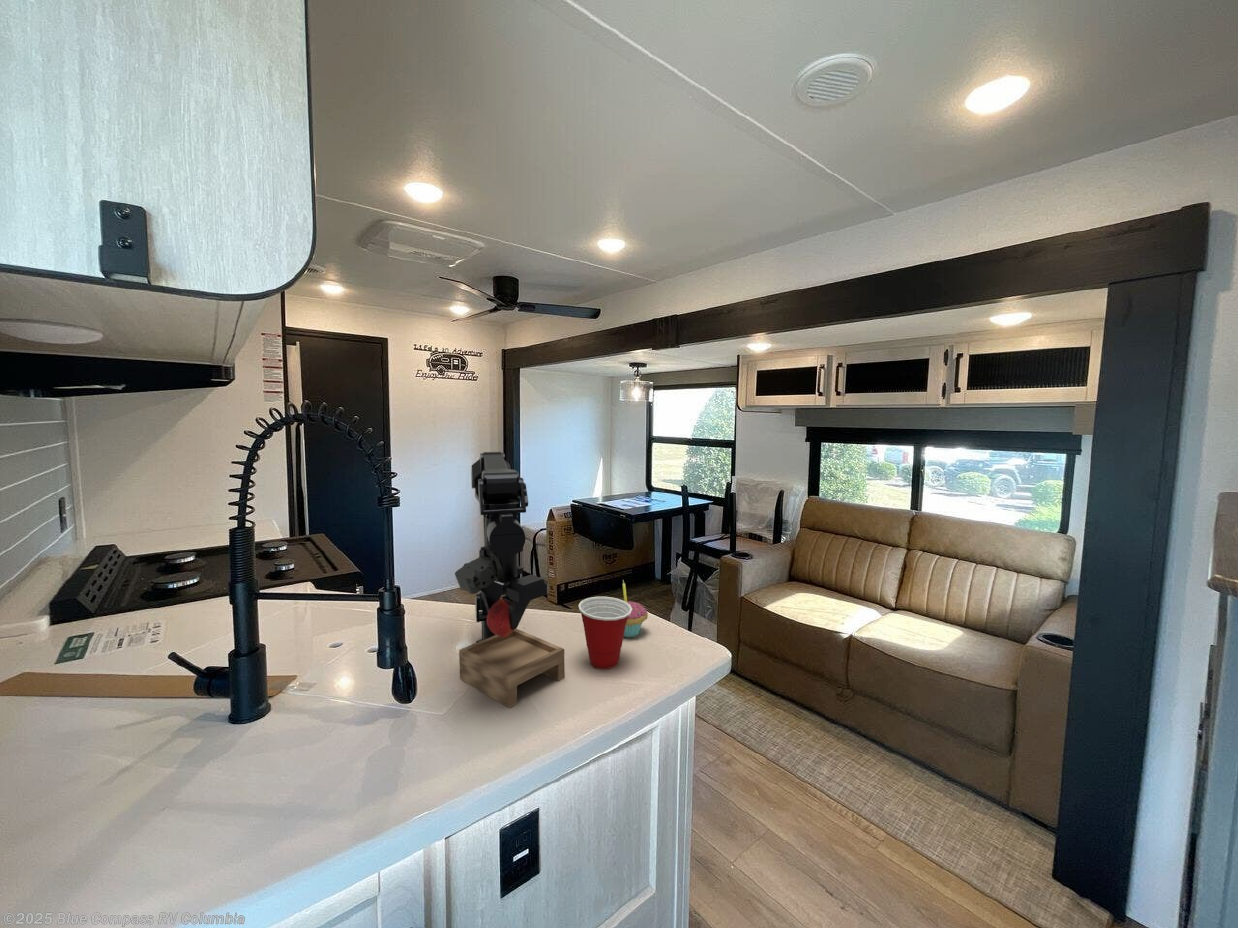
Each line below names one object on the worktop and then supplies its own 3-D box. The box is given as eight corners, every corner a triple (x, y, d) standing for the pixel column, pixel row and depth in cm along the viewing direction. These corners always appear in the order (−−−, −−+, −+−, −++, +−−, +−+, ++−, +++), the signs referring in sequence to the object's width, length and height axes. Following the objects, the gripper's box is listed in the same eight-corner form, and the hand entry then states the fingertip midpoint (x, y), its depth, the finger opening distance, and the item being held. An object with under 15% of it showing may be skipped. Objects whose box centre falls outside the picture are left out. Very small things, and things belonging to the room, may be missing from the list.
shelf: (459, 678, 93) (459, 649, 93) (514, 653, 103) (514, 627, 103) (509, 708, 84) (508, 675, 83) (564, 677, 94) (564, 648, 93)
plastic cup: (619, 680, 93) (619, 619, 92) (569, 669, 97) (568, 610, 96) (639, 655, 103) (639, 599, 102) (593, 646, 107) (592, 592, 106)
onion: (502, 647, 86) (502, 604, 86) (480, 639, 90) (479, 597, 89) (526, 635, 91) (525, 593, 90) (504, 627, 94) (503, 587, 94)
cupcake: (603, 632, 114) (602, 581, 113) (629, 622, 120) (629, 574, 119) (628, 644, 108) (628, 591, 107) (655, 633, 113) (655, 582, 112)
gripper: (433, 540, 88) (436, 623, 90) (495, 561, 76) (496, 657, 78) (486, 529, 97) (487, 605, 98) (549, 547, 85) (549, 633, 86)
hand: (503, 624), depth 90 cm, fingers closed on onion, 6 cm apart
